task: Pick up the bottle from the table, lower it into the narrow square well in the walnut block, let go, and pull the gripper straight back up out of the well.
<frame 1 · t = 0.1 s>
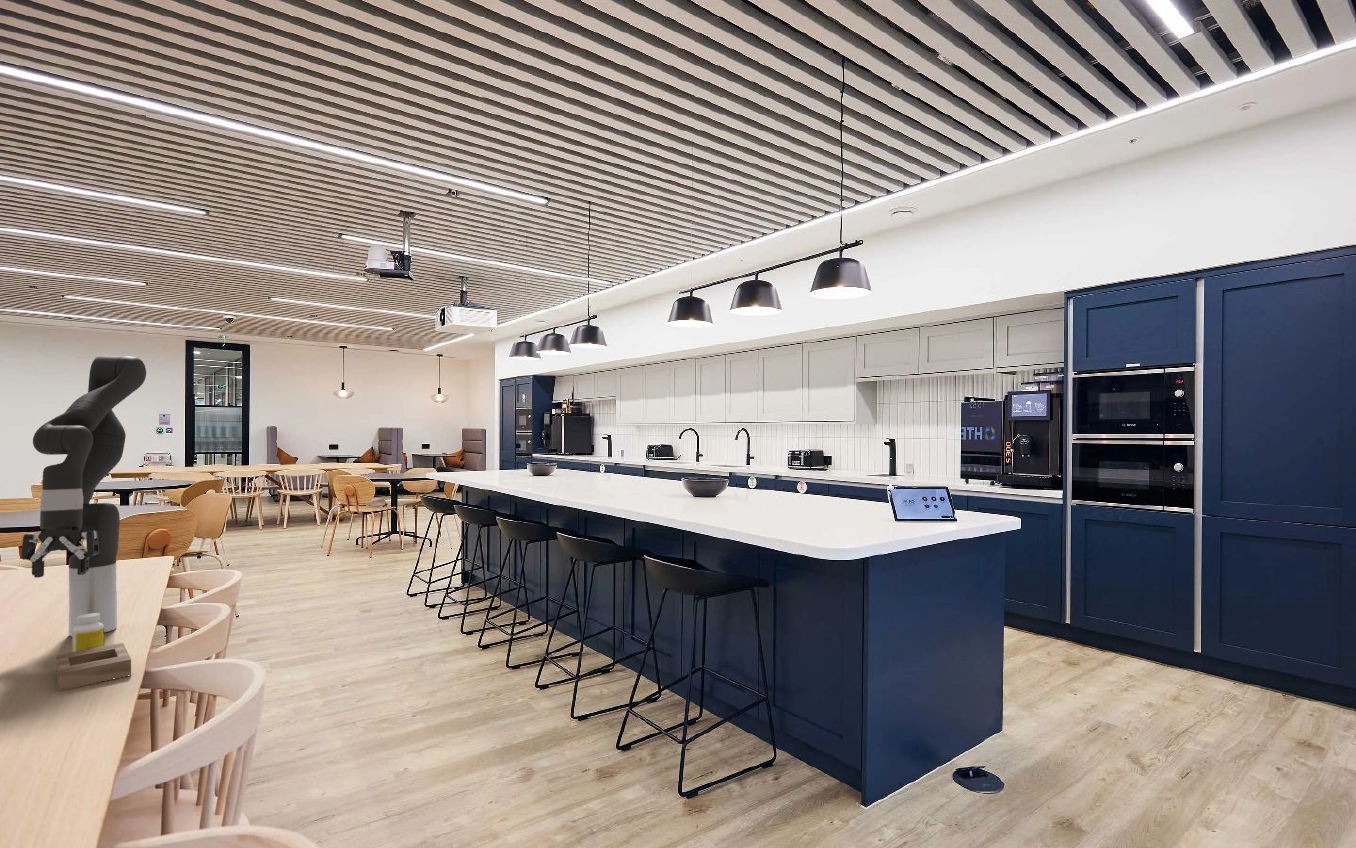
hand: (60, 575, 156), 17 cm above the table, tool pointing down, fingers open, 8 cm apart
well block: (93, 673, 138), on the table
supplement bottle: (88, 659, 148), on the table
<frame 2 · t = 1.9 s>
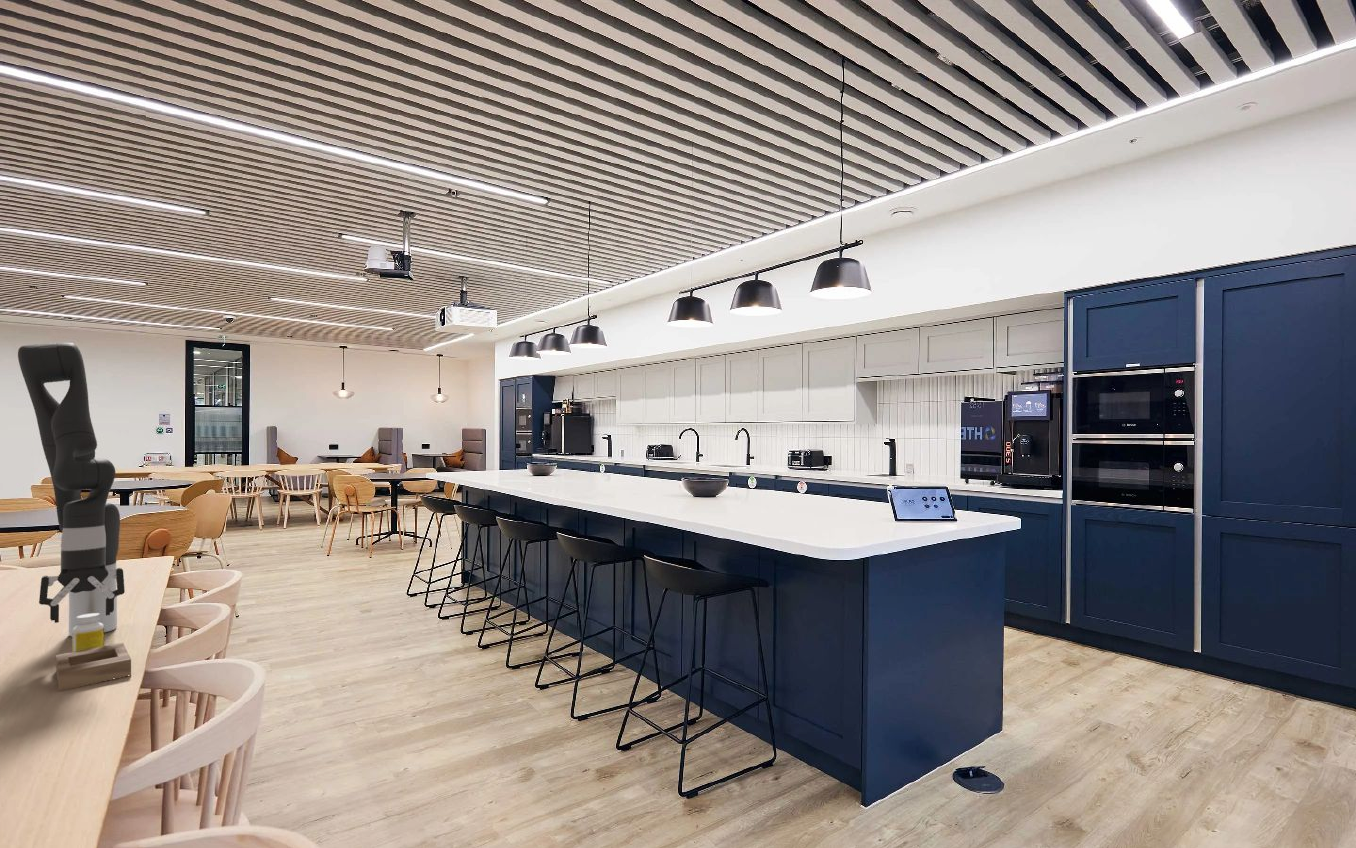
hand: (82, 618, 147), 9 cm above the table, tool pointing down, fingers open, 8 cm apart
nothing on the table moved.
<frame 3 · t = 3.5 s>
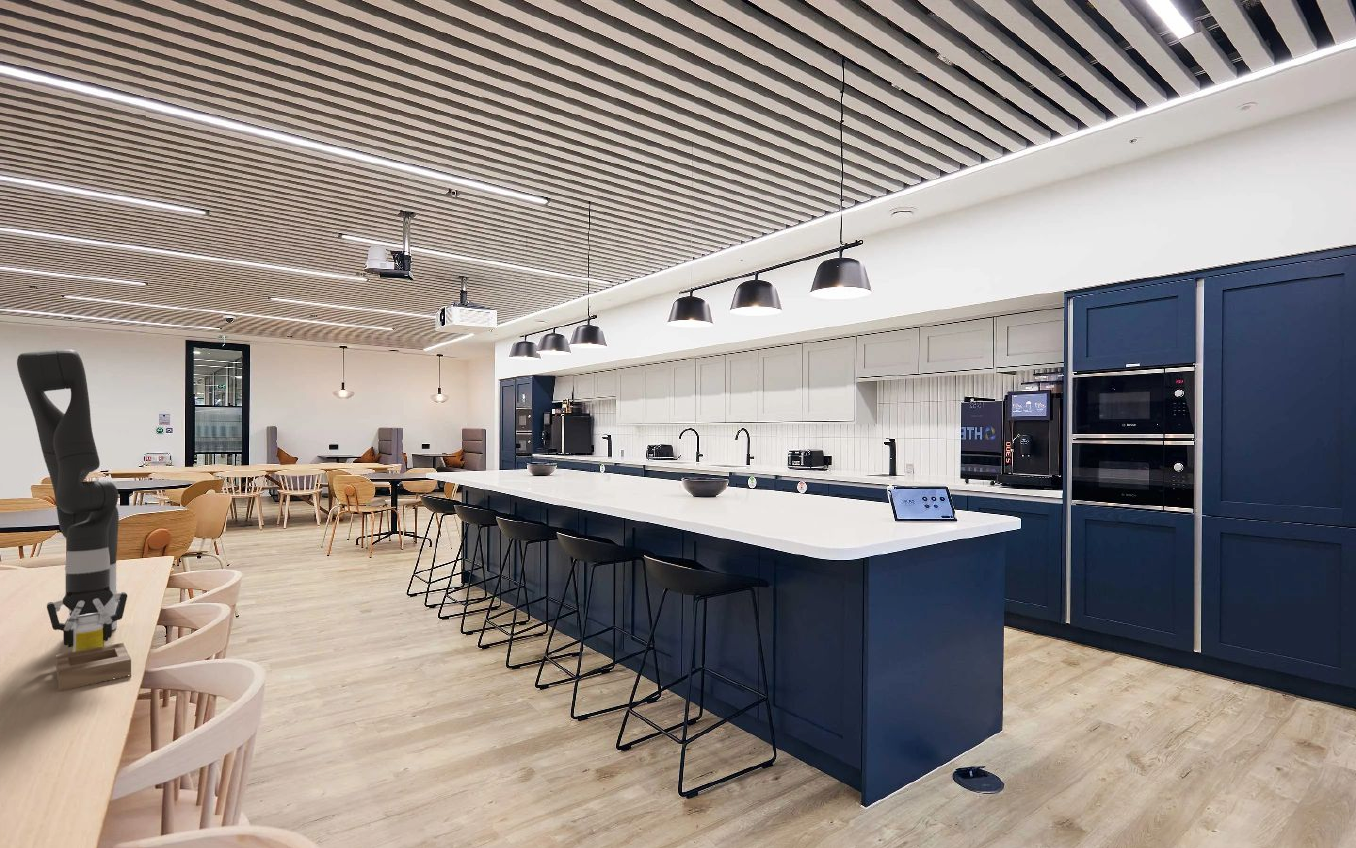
hand: (88, 643, 148), 3 cm above the table, tool pointing down, fingers closed on supplement bottle, 5 cm apart
supplement bottle: (88, 659, 148), on the table, touching gripper
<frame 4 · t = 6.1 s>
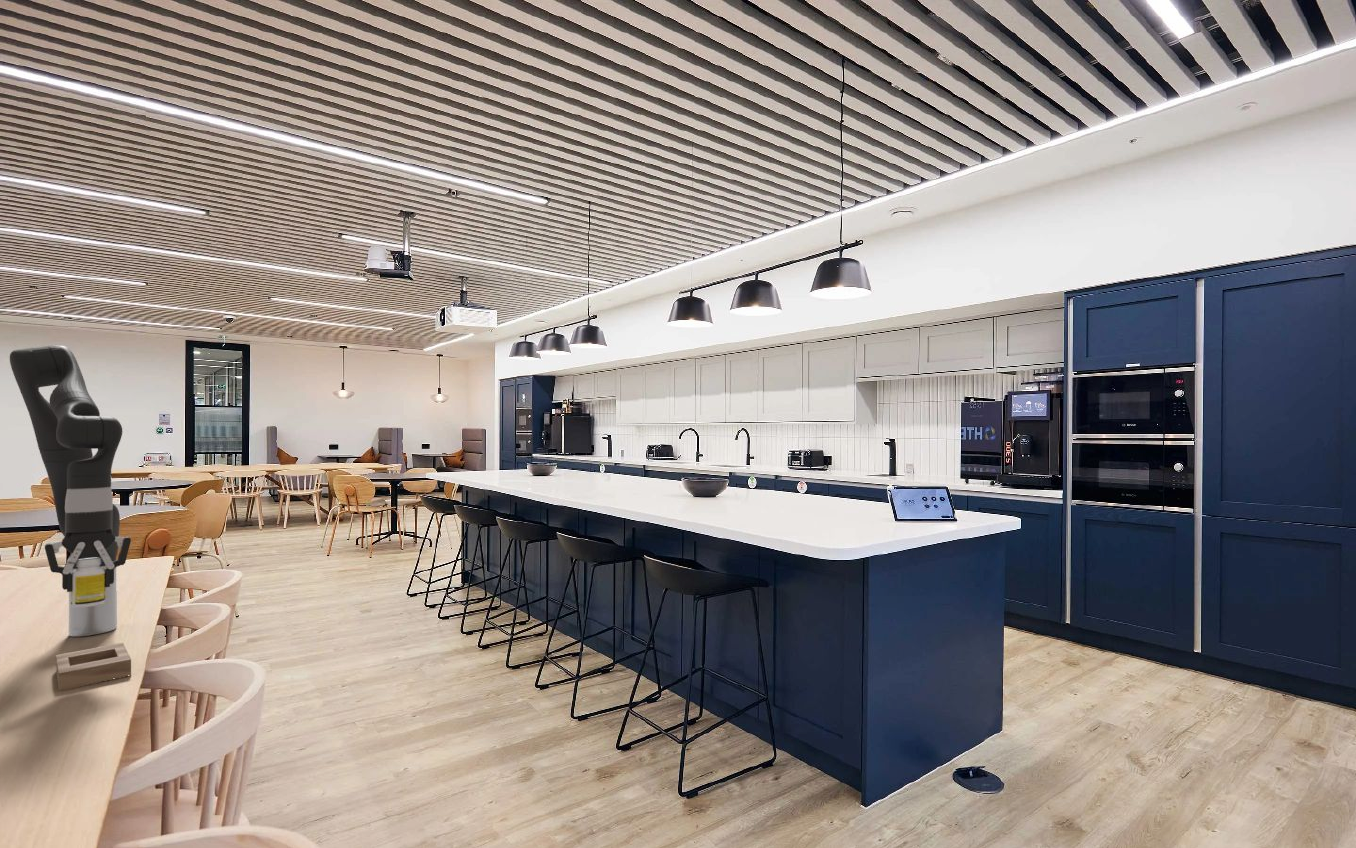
hand: (88, 588, 138), 18 cm above the table, tool pointing down, fingers closed on supplement bottle, 5 cm apart
supplement bottle: (88, 606, 138), point 14 cm above the table, touching gripper
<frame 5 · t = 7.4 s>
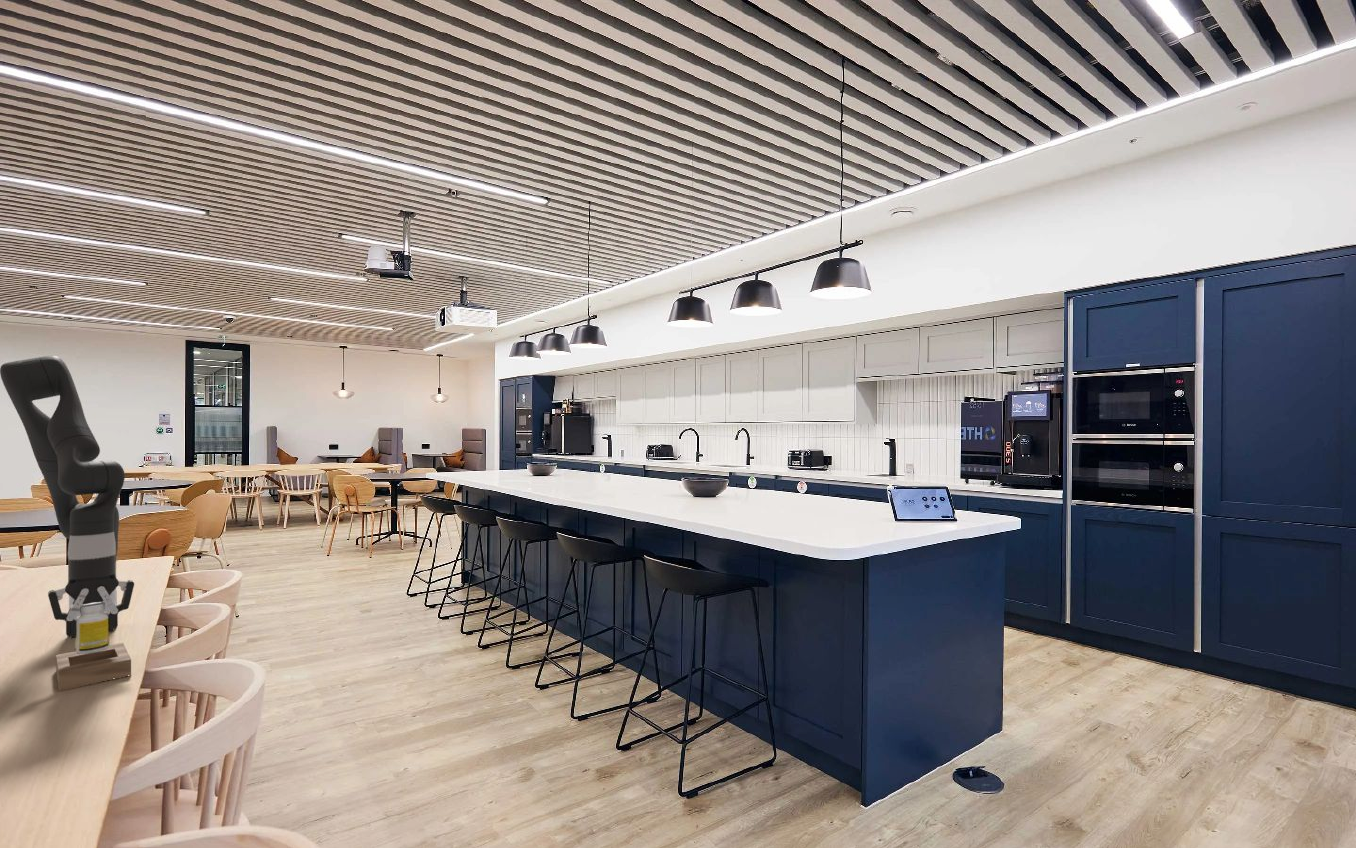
hand: (92, 634, 138), 8 cm above the table, tool pointing down, fingers closed on supplement bottle, 5 cm apart
supplement bottle: (92, 651, 138), point 5 cm above the table, touching gripper
when the fingers open (5 cm above the table, at t = 8.6 s): supplement bottle drops 1 cm, resting in well block.
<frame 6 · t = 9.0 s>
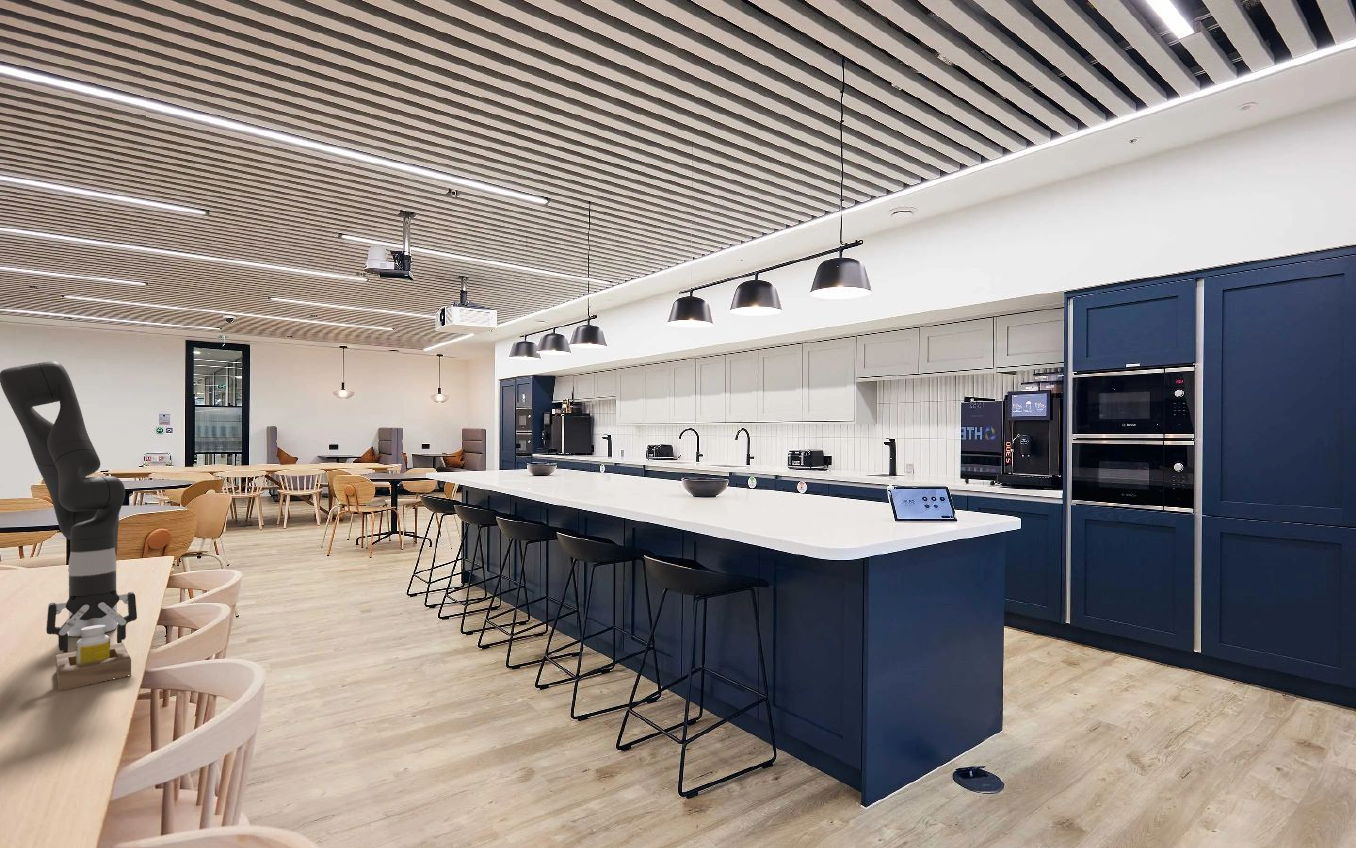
hand: (93, 647, 138), 6 cm above the table, tool pointing down, fingers open, 8 cm apart
supplement bottle: (93, 674, 138), resting in well block
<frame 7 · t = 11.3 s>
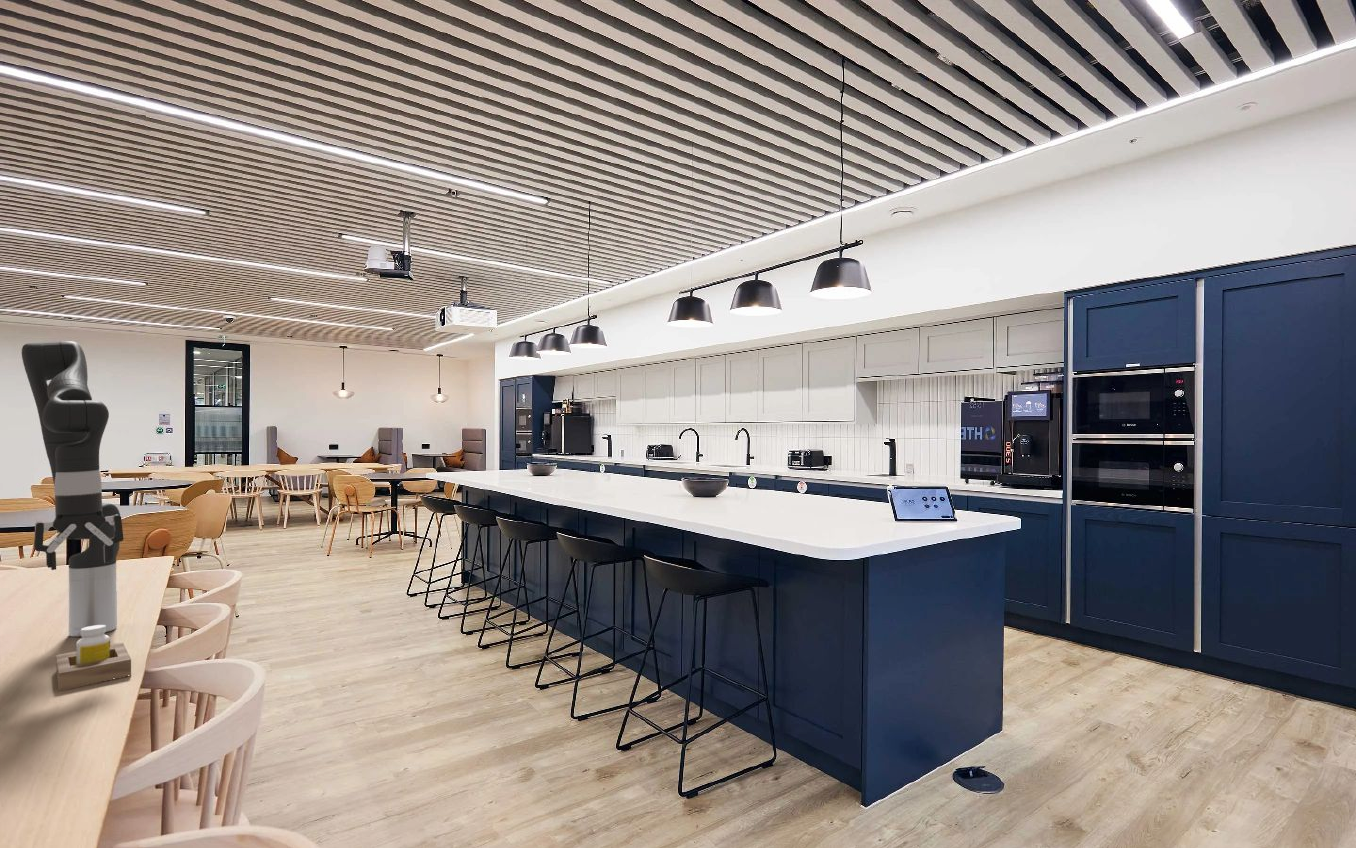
hand: (80, 565, 142), 22 cm above the table, tool pointing down, fingers open, 8 cm apart
nothing on the table moved.
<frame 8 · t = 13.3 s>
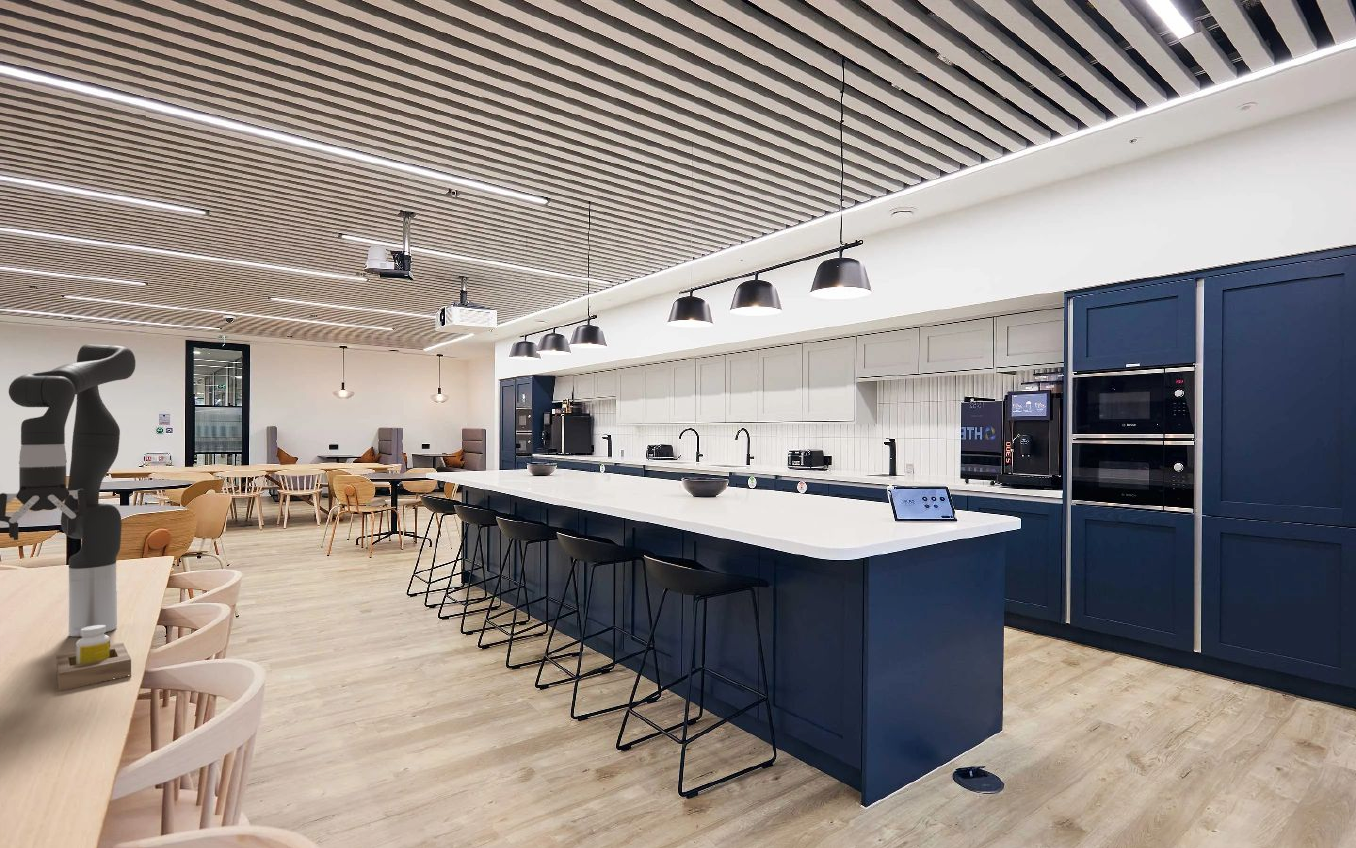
hand: (43, 537, 145), 28 cm above the table, tool pointing down, fingers open, 8 cm apart
nothing on the table moved.
at the end: supplement bottle 0.1 cm off-centre on the well block, point 0.0 cm above the well block's base; the gripper is holding nothing; supplement bottle tilted 0° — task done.
